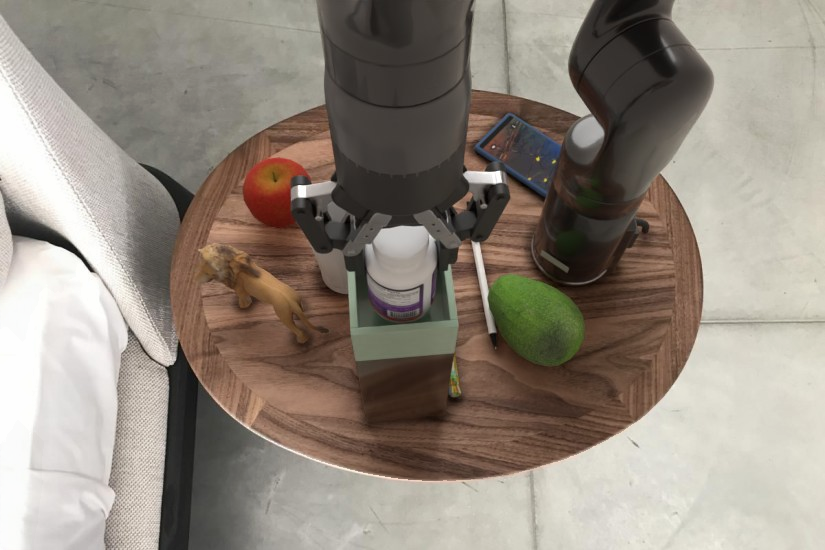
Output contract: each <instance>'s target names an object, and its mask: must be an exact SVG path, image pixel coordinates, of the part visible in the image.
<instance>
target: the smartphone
mask: <svg viewBox="0 0 825 550" xmlns="http://www.w3.org/2000/svg"><path fill="white" fill-rule="evenodd" d="M561 146H562V144H560V143H558V142H557V141H555V140H554V139H552V138H551V137H549V136H548V135H546V134H544V133H543V132H541V131H540V130H538V129H537V128H535V127H534V126H532V125H530V124H529V123H527V122H526V121H524V120H522V119H521V118H519V117H518V116H516V115H515V114H513V113H511V112H508V113H506V114H505V116H503V117H502V118H501V119H500V120H499V121H498V123H496V124H495V125H494V126H493V127H492V128H491V129H490V130H489V131H488V132H487V133H486V134H485V135H484V136H483V137H482V138H481V139H479V141H478V142H477V143H476V144H475V145H474V148H473V149H474V151H475V152H476V153H478V154H479V155H480V156H482V157H484V158H485V159H487V160H488V161H490V163H492V162H502V163H504V165H505V170H506V173H508V174H509V175H511V176H512V177H514V178H515V179H516V180H518V181H519V182H521V183H523V184H525V185H526V186H527V187H528V188H529V189H532V190H533V191H535V193H537V194H538V195H540V196H541V197H544V198H545V199H546V195H547V192H548V189H549V186H550V183H551V179H552V176H553V173H554V170H555V166H556V163H557V160H558V157H559V153H560V150H561Z"/></svg>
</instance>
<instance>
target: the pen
mask: <svg viewBox="0 0 825 550" xmlns="http://www.w3.org/2000/svg"><path fill="white" fill-rule="evenodd" d="M469 202H470V200H469V201H468V200H467V201H466V202H465V204H466V207H467V206H468V204H469ZM465 212H467V209H466V210H465ZM470 241H471V246H472V252H473V257H474V262H475V267H476V274H477V278H478V283H479V289H480V295H481V301H482V305H483V310H484V317H485V322H486V327H487V332H488V336H489V339H490V340H491V343H492V346H493V348H494V349H495V350H496V349H497V346H498V345H497V344H498V331H497V325H496V322H495V319H494V317H493V315H492V313H491V311H490V309H489V304H488V299H487V297H488V293H489V286H488V281H487V274H486V270H485V264H484V259H483V254H482V250H481V244H480V243H481V242H473V241H472V240H471V239H470Z"/></svg>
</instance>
